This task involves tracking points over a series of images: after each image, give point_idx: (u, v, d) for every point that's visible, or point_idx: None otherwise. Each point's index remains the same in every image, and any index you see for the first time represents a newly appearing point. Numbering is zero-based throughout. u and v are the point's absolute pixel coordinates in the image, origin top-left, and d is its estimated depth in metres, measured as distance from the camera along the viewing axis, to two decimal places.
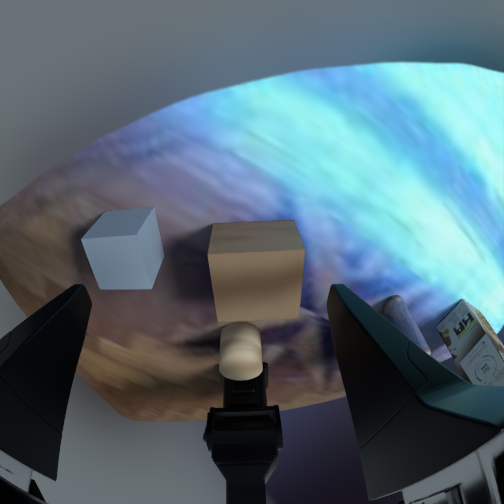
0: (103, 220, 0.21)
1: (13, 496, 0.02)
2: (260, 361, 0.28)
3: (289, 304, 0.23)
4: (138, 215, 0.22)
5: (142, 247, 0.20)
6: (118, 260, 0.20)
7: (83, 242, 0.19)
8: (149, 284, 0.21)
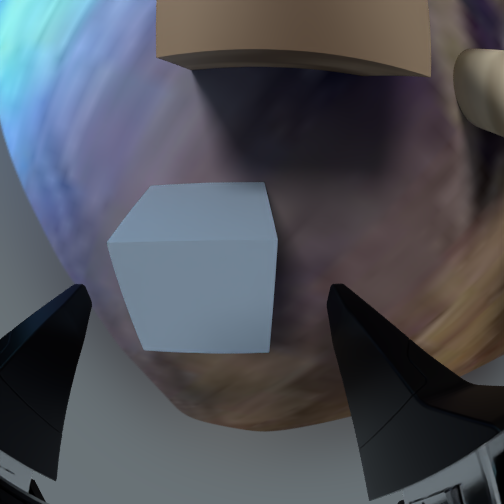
0: None
1: (13, 496, 0.02)
2: None
3: None
4: None
5: (151, 233, 0.08)
6: (181, 299, 0.09)
7: (150, 348, 0.10)
8: (260, 242, 0.08)
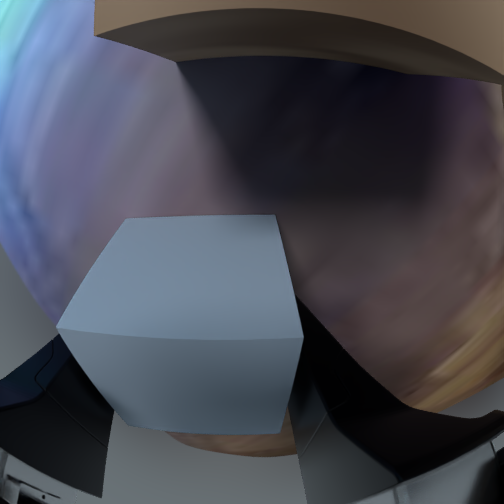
0: None
1: (13, 496, 0.02)
2: None
3: None
4: None
5: (114, 315, 0.05)
6: (166, 393, 0.06)
7: (135, 425, 0.07)
8: (276, 341, 0.05)
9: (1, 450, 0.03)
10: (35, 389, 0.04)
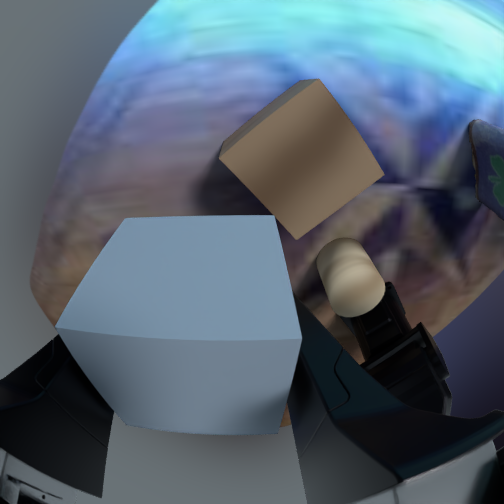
0: None
1: (13, 496, 0.02)
2: (376, 272, 0.20)
3: (360, 162, 0.15)
4: None
5: (113, 316, 0.05)
6: (165, 393, 0.06)
7: (133, 425, 0.07)
8: (275, 342, 0.05)
9: (1, 450, 0.03)
10: (36, 389, 0.04)
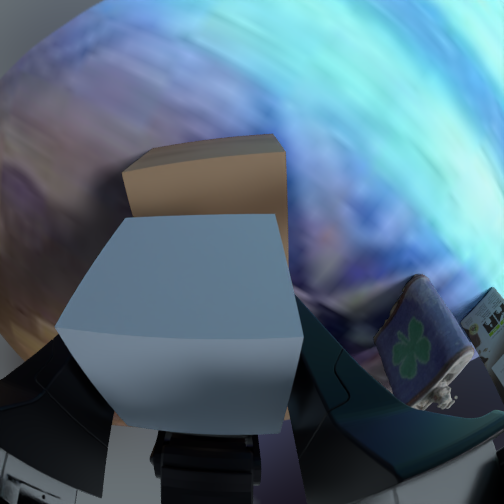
0: None
1: (13, 496, 0.02)
2: None
3: None
4: None
5: (113, 315, 0.05)
6: (166, 393, 0.06)
7: (134, 425, 0.07)
8: (276, 341, 0.05)
9: (1, 450, 0.03)
10: (35, 389, 0.04)
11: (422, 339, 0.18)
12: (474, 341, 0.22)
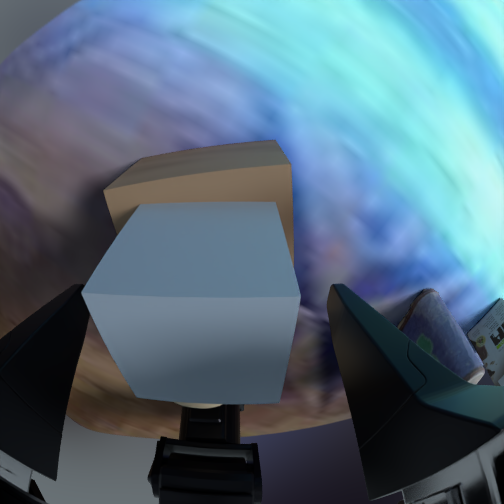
0: None
1: (13, 496, 0.02)
2: None
3: None
4: None
5: (136, 281, 0.06)
6: (177, 356, 0.07)
7: (143, 396, 0.08)
8: (277, 299, 0.06)
9: None
10: None
11: None
12: (481, 353, 0.21)
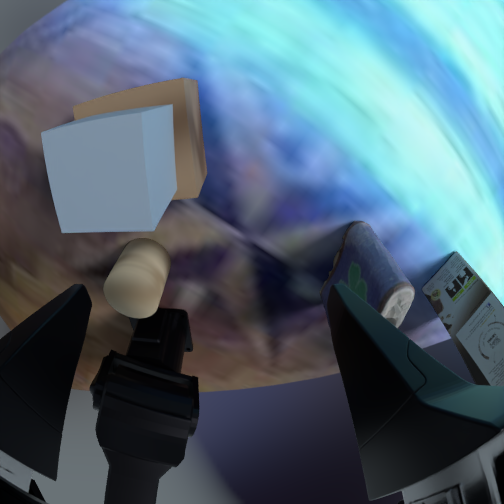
0: None
1: (13, 496, 0.02)
2: (154, 286, 0.20)
3: (178, 172, 0.15)
4: None
5: (69, 124, 0.09)
6: (83, 172, 0.10)
7: (65, 230, 0.11)
8: (129, 115, 0.09)
9: None
10: None
11: (360, 282, 0.20)
12: (436, 307, 0.24)
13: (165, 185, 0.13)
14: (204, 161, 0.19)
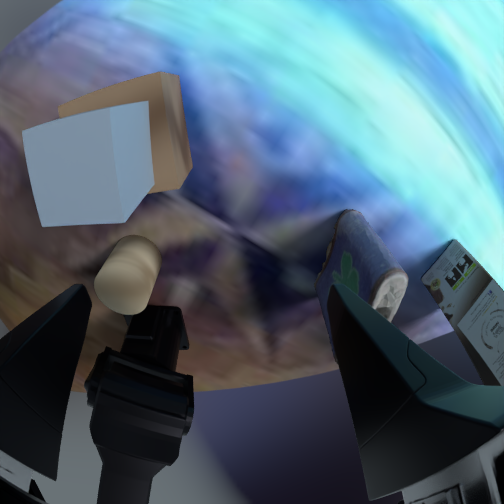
0: None
1: (13, 496, 0.02)
2: (143, 282, 0.20)
3: (159, 164, 0.15)
4: None
5: (47, 122, 0.09)
6: (59, 168, 0.10)
7: (45, 224, 0.11)
8: (99, 111, 0.09)
9: None
10: None
11: (352, 271, 0.19)
12: (436, 297, 0.24)
13: (139, 178, 0.13)
14: (189, 154, 0.19)
